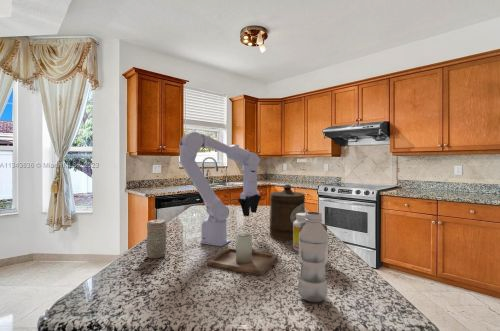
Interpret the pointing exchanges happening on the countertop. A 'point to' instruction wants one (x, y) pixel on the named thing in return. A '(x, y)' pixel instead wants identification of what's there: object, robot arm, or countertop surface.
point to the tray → (255, 267)
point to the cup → (243, 248)
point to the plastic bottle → (313, 259)
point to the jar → (300, 247)
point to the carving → (156, 238)
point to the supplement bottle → (297, 229)
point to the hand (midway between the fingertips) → (250, 214)
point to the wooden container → (285, 212)
